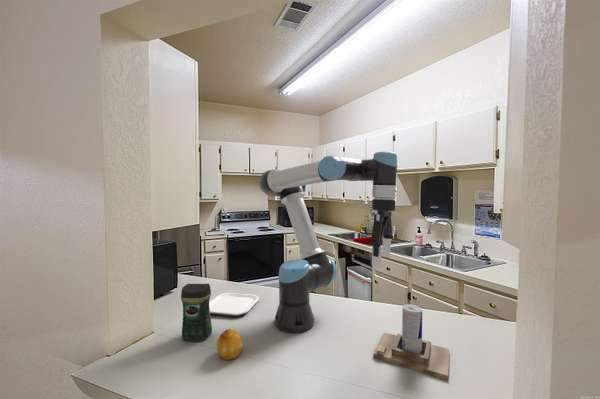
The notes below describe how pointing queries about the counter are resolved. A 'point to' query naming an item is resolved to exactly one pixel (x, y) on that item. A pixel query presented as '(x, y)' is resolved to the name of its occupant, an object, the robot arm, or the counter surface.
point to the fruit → (229, 344)
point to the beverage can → (412, 329)
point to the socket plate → (414, 356)
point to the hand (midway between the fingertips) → (381, 261)
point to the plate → (232, 304)
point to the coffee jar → (196, 312)
